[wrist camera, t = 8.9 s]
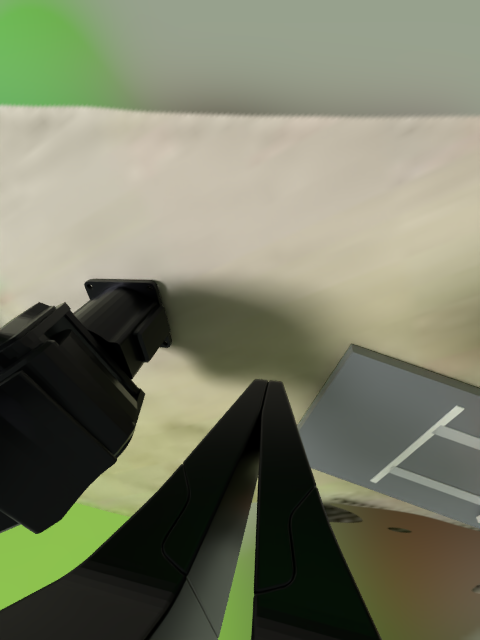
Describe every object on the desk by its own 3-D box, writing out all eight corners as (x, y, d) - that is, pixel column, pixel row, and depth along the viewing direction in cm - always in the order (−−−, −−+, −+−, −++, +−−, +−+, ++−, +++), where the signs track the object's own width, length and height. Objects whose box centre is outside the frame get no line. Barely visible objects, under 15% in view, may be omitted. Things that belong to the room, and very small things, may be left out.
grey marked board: (281, 448, 32) (280, 458, 31) (351, 343, 23) (352, 352, 22) (492, 524, 32) (497, 536, 31) (652, 448, 22) (667, 462, 21)
